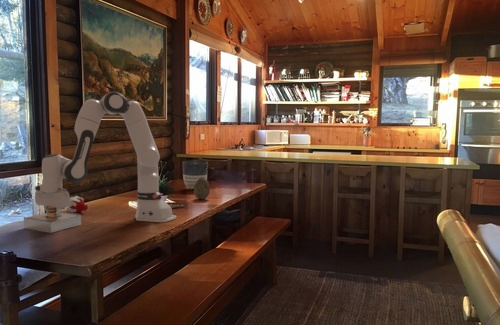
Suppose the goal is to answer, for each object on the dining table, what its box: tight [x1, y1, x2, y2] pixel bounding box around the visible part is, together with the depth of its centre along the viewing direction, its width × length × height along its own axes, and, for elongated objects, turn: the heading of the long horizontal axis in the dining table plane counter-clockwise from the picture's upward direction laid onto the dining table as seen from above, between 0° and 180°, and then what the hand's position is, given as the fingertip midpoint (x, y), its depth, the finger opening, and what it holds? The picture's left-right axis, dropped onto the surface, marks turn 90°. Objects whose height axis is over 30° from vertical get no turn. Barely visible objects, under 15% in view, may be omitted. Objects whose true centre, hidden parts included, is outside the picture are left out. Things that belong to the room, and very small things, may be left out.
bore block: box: [23, 210, 82, 234], centre depth 205 cm, size 18×18×5 cm
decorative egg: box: [193, 177, 211, 200], centre depth 284 cm, size 11×11×15 cm
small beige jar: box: [48, 206, 58, 218], centre depth 205 cm, size 5×5×8 cm
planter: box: [182, 160, 209, 190], centre depth 325 cm, size 20×20×21 cm
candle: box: [65, 195, 88, 214], centre depth 236 cm, size 9×11×15 cm
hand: (53, 215), depth 205 cm, fingers closed on small beige jar, 5 cm apart
